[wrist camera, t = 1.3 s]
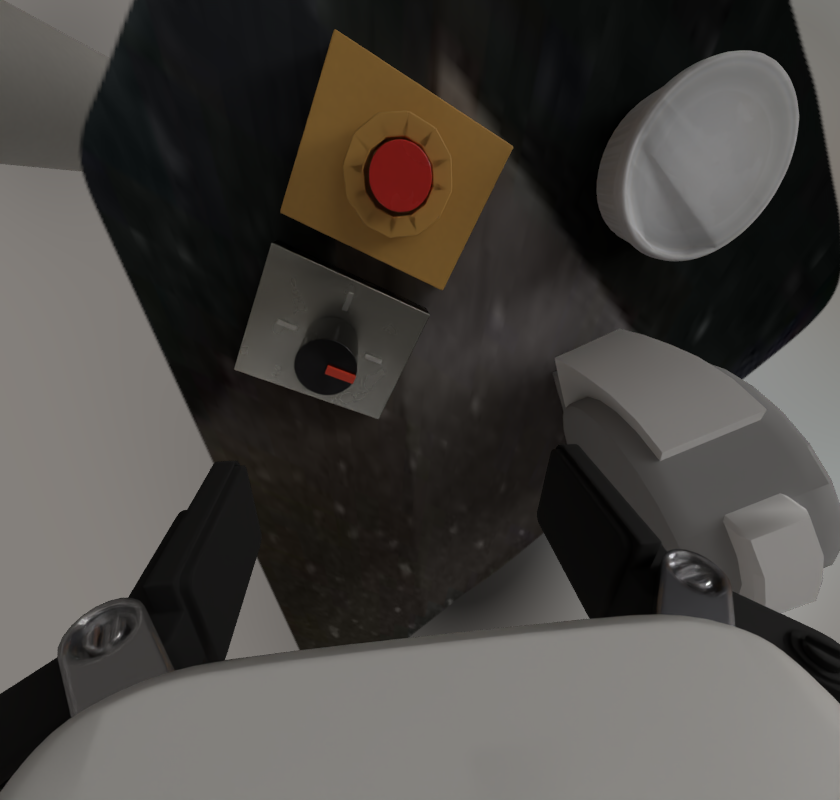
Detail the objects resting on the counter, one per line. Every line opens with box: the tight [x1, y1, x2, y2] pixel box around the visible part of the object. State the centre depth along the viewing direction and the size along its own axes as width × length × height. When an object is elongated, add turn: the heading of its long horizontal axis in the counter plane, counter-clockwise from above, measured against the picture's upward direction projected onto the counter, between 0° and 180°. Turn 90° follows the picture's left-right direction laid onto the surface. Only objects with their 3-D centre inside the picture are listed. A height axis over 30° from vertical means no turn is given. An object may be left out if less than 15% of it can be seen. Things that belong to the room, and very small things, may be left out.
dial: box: [294, 317, 358, 395], centre depth 27 cm, size 4×4×5 cm
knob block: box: [280, 29, 513, 290], centre depth 25 cm, size 12×10×4 cm
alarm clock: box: [553, 329, 840, 613], centre depth 28 cm, size 18×8×20 cm, turn 24°
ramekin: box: [596, 51, 799, 261], centre depth 26 cm, size 11×11×5 cm
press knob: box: [369, 139, 432, 212], centre depth 22 cm, size 4×4×2 cm
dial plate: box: [234, 240, 430, 419], centre depth 30 cm, size 12×10×2 cm
